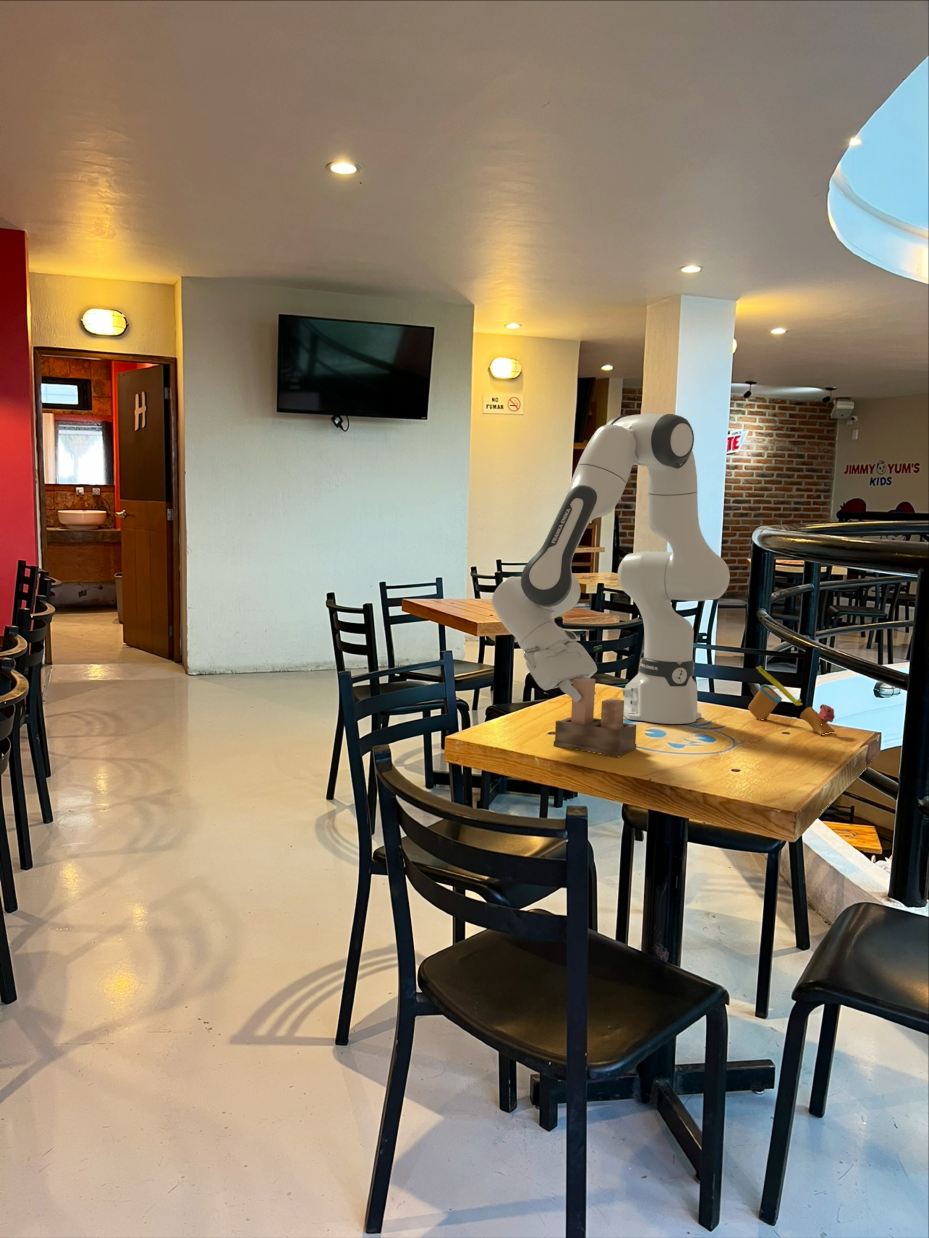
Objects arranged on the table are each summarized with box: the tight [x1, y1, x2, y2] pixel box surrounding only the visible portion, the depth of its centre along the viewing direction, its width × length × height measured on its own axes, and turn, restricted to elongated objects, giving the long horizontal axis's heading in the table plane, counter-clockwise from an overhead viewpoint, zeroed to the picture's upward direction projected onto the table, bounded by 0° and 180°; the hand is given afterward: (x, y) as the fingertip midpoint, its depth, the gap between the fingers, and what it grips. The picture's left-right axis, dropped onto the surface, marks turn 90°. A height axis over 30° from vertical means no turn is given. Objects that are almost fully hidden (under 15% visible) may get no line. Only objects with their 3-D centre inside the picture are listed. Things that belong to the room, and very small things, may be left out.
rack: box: [553, 698, 637, 758], centre depth 183 cm, size 14×9×10 cm, turn 56°
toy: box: [747, 665, 836, 736], centre depth 209 cm, size 5×22×15 cm
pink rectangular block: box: [570, 677, 596, 725], centre depth 184 cm, size 3×4×9 cm
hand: (586, 698), depth 183 cm, fingers closed on pink rectangular block, 4 cm apart
